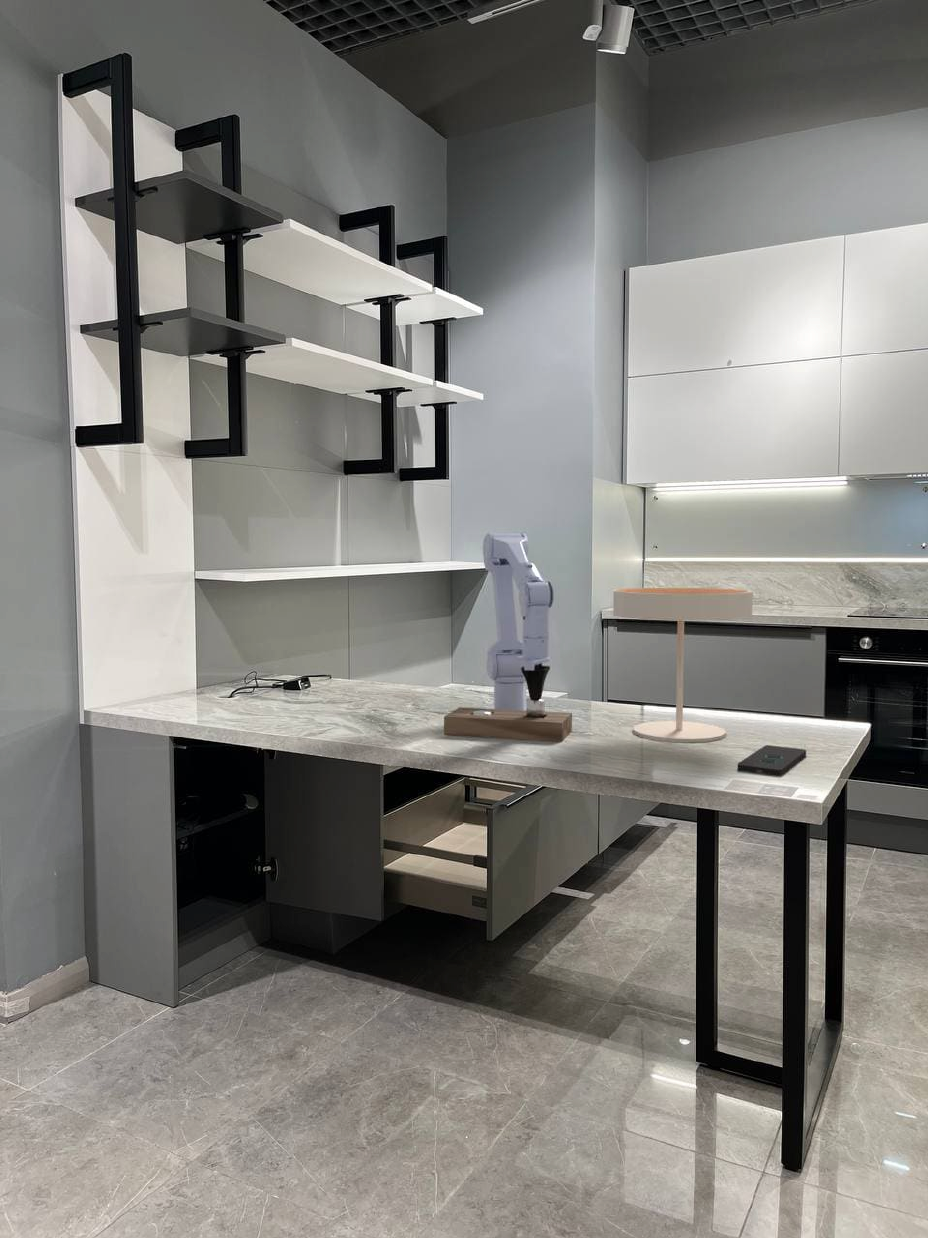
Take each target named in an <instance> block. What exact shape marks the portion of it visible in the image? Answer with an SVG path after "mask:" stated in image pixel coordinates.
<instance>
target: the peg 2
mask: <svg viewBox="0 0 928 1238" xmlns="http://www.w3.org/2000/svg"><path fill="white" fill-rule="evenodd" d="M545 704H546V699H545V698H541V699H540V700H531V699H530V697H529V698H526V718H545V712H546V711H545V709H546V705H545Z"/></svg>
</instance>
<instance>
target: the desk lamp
mask: <svg viewBox="0 0 928 1238" xmlns="http://www.w3.org/2000/svg"><path fill="white" fill-rule="evenodd" d="M753 593H754V592H753V591H752V590H747V589H737V588H736V589H734V588H716V587H713V588H711V587H633V588H632V587H631V588H630V587H629V588H628V587H627V588H617V589H613V599H612V600H613V602H612V603H613V605H612V606H613V609H612V610H613V612H612V614H613V616H615V617H620V618H626V619H637V620H638V619H639V620H656V621H657V620H658V621H677V638H676V641H677V642H676V644H677V645H676V696H675V697H676V700H675V701H676V705H675V708H676V709H675V721H674V720H673V721H672V720H664V721H663V720H662V721H649V722H642V723H639V724H636V725H634V726H633V727H632V729H633V730H632V731H633V734H634V735H637V736H638V737H641V738H645V739H649V740H652V741H653V740H654V741H661V742H662V741H663V742H670V743H671V742H672V743H703V742H704V743H705V742H706V743H709V742H713V741H714V742H715V741H719V740H723V739H724V738H725V737H727V731H726V729H724V728H722V727H720V726H717V725H712V724H708V723H702V722H694V721H693V722H692V721H683V717H684V716H683V715H684V714H683V712H684V709H683V708H684V707H683V706H684V657H685V655H684V654H685V653H684V651H685V649H684V648H685V621H691V622H692V621H694V622H697V621H730V620H731V621H732V620H734V621H735V620H742V619H743V620H744V619H749V618H752V617H753V603H754V601H753V599H754V598H753V596H754V595H753Z"/></svg>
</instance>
